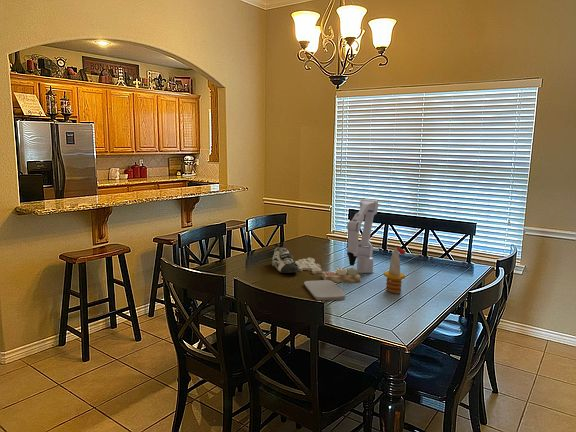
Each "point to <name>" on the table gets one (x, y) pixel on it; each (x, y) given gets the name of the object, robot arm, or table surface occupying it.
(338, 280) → the button board
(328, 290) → the tablet
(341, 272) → the cream studded block
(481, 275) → the table surface
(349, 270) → the button
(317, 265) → the decorative sign
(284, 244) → the table surface
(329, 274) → the button
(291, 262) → the training shoe
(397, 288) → the toy
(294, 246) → the table surface
